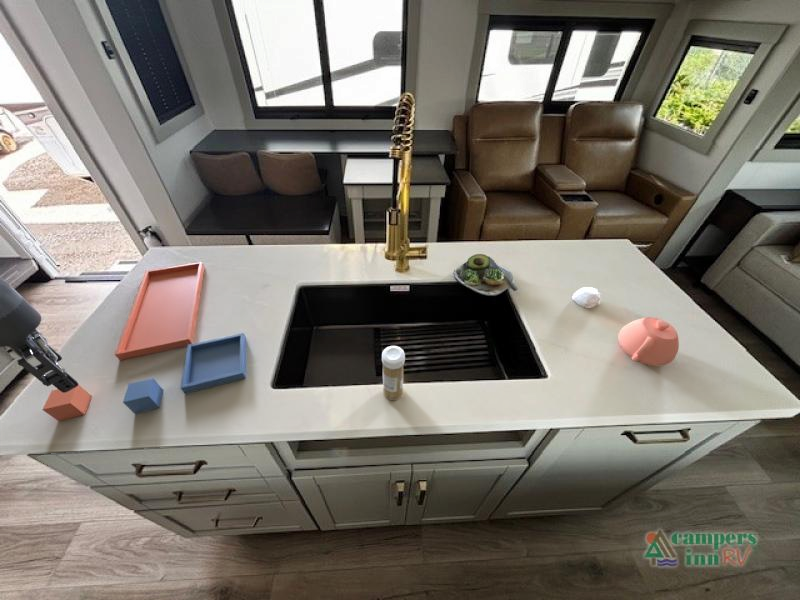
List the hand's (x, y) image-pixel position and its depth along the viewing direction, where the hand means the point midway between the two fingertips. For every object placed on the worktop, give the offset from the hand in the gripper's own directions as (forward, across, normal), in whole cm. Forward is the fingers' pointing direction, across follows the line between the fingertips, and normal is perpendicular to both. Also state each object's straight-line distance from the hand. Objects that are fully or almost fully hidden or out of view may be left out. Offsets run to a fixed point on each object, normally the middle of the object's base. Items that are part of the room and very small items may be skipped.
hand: (63, 374), depth 56 cm
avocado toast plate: (+15, +38, +91) cm, 99 cm away
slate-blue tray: (+15, +5, +20) cm, 26 cm away
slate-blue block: (+15, +3, +6) cm, 16 cm away
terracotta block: (+15, -8, -4) cm, 17 cm away
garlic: (+15, +67, +100) cm, 122 cm away
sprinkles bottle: (+15, +41, +41) cm, 60 cm away
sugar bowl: (+15, +83, +89) cm, 123 cm away
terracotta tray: (+15, -24, +22) cm, 36 cm away
